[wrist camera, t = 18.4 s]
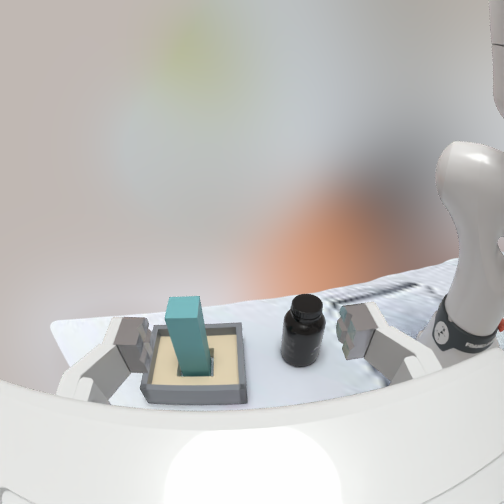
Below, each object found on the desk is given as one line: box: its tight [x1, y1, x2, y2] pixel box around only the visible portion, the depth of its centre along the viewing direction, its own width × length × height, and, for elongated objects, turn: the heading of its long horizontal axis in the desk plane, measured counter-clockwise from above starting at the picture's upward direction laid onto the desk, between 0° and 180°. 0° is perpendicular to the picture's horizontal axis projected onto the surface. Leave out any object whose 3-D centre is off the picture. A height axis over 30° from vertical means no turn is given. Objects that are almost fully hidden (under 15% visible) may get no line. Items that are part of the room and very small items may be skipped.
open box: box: [140, 323, 247, 405], centre depth 44 cm, size 16×14×4 cm
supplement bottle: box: [281, 294, 326, 366], centre depth 45 cm, size 7×7×12 cm
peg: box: [165, 296, 211, 377], centre depth 41 cm, size 4×4×15 cm
